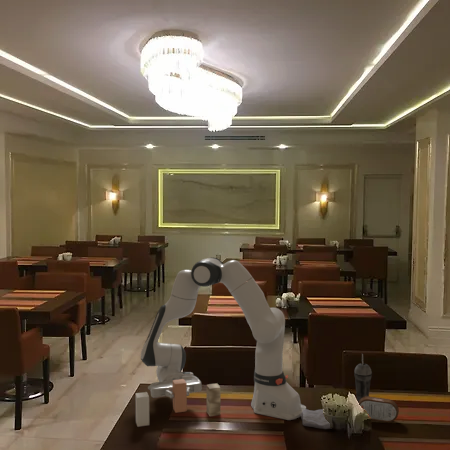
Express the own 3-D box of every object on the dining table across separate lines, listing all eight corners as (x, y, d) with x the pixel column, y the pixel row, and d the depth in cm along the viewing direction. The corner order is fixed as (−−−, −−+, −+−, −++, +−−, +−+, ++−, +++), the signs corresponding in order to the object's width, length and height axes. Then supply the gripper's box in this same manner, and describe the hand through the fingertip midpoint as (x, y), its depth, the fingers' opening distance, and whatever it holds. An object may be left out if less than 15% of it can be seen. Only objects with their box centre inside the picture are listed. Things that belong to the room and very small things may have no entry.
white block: (147, 420, 197) (147, 391, 196) (149, 424, 193) (149, 396, 192) (135, 421, 196) (135, 393, 195) (137, 426, 191) (137, 397, 191)
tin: (398, 421, 197) (398, 399, 196) (398, 424, 194) (398, 402, 193) (357, 415, 202) (358, 394, 201) (357, 418, 199) (357, 397, 198)
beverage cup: (373, 399, 217) (374, 352, 216) (368, 405, 211) (369, 357, 210) (356, 395, 221) (357, 349, 220) (351, 401, 215) (351, 354, 214)
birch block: (217, 410, 206) (217, 383, 205) (220, 414, 202) (220, 387, 201) (206, 411, 204) (206, 384, 204) (209, 416, 200) (209, 388, 200)
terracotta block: (184, 406, 201) (183, 378, 200) (186, 410, 197) (186, 382, 196) (173, 408, 200) (172, 380, 199) (175, 412, 196) (175, 384, 195)
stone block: (335, 434, 190) (331, 417, 200) (335, 423, 189) (331, 406, 198) (302, 434, 191) (300, 417, 201) (302, 422, 190) (300, 406, 199)
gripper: (146, 378, 207) (152, 390, 194) (196, 371, 213) (205, 383, 200) (147, 393, 207) (153, 406, 194) (196, 386, 214) (205, 399, 200)
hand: (180, 395), depth 197 cm, fingers closed on terracotta block, 4 cm apart
